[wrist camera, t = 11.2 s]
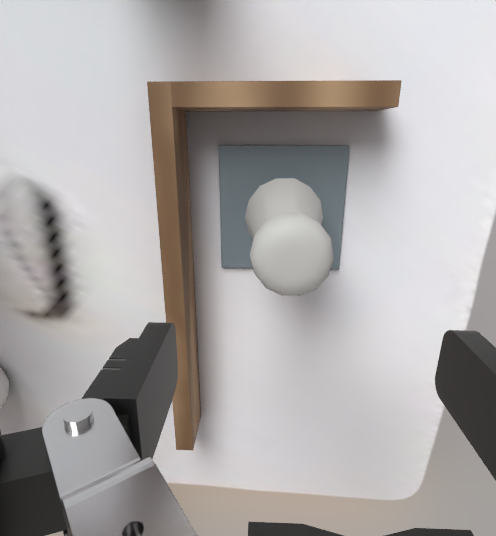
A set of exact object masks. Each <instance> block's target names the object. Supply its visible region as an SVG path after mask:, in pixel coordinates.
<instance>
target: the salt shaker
mask: <svg viewBox="0 0 496 536" xmlns="http://www.w3.org/2000/svg"><path fill="white" fill-rule="evenodd" d="M245 219H246V224H247V228H248V232H249V234H250V236H251V237H252V238H253V243H252V247H251V251H250V258H251V262H252V266H253V270H254V273H255V275H256V276H257V277H258V279H259V280H260V281H261V282H262V284H263V285H264V286H265V287H266V288H267V289H269V290H272V291H274V292H276V293H278V294H280V295H291V296H300V295H302V294H305V293H307V292H310V291H312V290H314V289H316V288H317V287H318V286H319V285H320V284H321V283H322V282H323V281H324V280H325V279H326V278H327V277H328V275H329V272H330V268H331V265H332V262H333V250H332V243H331V238H330V236H329V235H328V234H327V232H326V231H325V230H324V228H323V227H322V226H321V223H322V220H323V214H322V207H321V200H320V199H319V198H318V197H317V195H316V194H315V193H314V191H313V190H312V189H311V187H310V186H308V185H306V184H304V183H302V182H300V181H299V180H297V179H295V178H276V179H274V180H272V181H270V182H267V183H265V184H263V185H261V186H259V188H258V189H257V190H256V192H255V193H254V194H253V195H252V197H251V198H250V199H249V202H248V206H247V210H246V214H245Z"/></svg>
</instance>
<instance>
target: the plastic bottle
mask: <svg viewBox="0 0 496 536" xmlns="http://www.w3.org/2000/svg"><path fill="white" fill-rule="evenodd" d="M8 395H9V381H8V378H7V376H6V374H5V373H4V371H3V370H2V369H1V368H0V409H1V407H2V406H3V405H4V403H5V402H6V400H7V398H8Z"/></svg>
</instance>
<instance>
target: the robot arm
mask: <svg viewBox="0 0 496 536" xmlns="http://www.w3.org/2000/svg"><path fill="white" fill-rule="evenodd" d="M177 379H178V361H177V344H176V329H175V325H174V323H152V322H149V323H148V324H147V326H146V327H145V329H144V331H143V332H142V334H141V336H140V337H139V338H129V339H128V340H127V341H125V342H124V343H122V344H121V345H119V346H118V347H116V349H115V350H114V352H113V353H112V355H111V356H110V358H109V360H108V361H107V362H106V364H105V365H104V366H103V370H101V371H100V372H99V374H98V375H97V377H96V378H95V380H94V381H93V383H92V384H91V386H90V387H89V389H88V390H87V391H86V393H85V394H84V396H83V397H82V399H80V400H76V401H72V402H70V403H67V404H65V405H63V406H61V407H59V408H58V409H56V410H55V411H54V412H52V413H51V414H50V415H49V416H48V417H47V419H46V420H45V422H44V424H43V427H40V428H36V429H32V430H27V431H21V432H16V433H11V434H6V435H1V431H0V536H45V535H49V534H52V533H56V532H60V531H63V534H64V536H197V534H196V532H195V531H194V529H193V527H192V525H191V524H190V522H189V520H188V519H187V517H186V515H185V514H184V512H183V510H182V508H181V507H180V505H179V503H178V502H177V500H176V498H175V496H174V495H173V493H172V491H171V490H170V488H169V486H168V485H167V483H166V481H165V479H164V478H163V476H162V474H161V473H160V471H159V469H158V468H157V466H156V464H155V463H154V461H153V460H152V458H153V455H154V453H155V450H156V447H157V444H158V441H159V438H160V435H161V432H162V429H163V426H164V423H165V420H166V417H167V414H168V411H169V408H170V405H171V402H172V399H173V396H174V393H175V390H176V386H177ZM435 385H436V390H437V394H438V396H439V398H440V399H441V401H442V402H443V404H444V405H445V407H446V408H447V410H448V411H449V413H450V414H451V416H452V417H453V419H454V420H455V421H456V423H457V424H458V426H459V427H460V429H461V430H462V432H463V433H464V435H465V436H466V438H467V439H468V441H469V442H470V443H471V445H472V446H473V448H474V449H475V451H476V452H477V454H478V455H479V457H480V458H481V459H482V461H483V463H484V464H485V465H486V467H487V468H488V470H489V471H490V473H491V474H492V476H493V477H494V479H495V480H496V348H495V347H494V346H493V345H492V344H491V343H490V342H489V341H487V340H486V339H485V338H484V337H483V336H482V335H481V334H480V333H478V332H477V331H459V330H449V331H447V332H446V333H445V334H444V337H443V341H442V346H441V351H440V356H439V361H438V366H437V371H436V376H435ZM248 525H249V526H248V536H343V535H339V534H336V533H333V532H329V531H326V530H322V529H318V528H315V527H312V526H308V525H305V524H292V523H264V522H249V524H248ZM386 536H474V535H473V534H472V532H471V530H451V529H425V528H424V529H423V528H414V529H410V530H406V531H402V532H398V533H394V534H390V535H386Z"/></svg>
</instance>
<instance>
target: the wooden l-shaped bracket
mask: <svg viewBox="0 0 496 536" xmlns="http://www.w3.org/2000/svg"><path fill="white" fill-rule="evenodd" d="M147 85H148V97H149V110H150V122H151V135H152V148H153V160H154V173H155V185H156V198H157V211H158V223H159V236H160V248H161V261H162V274H163V286H164V299H165V311H166V323H174V325H175V329H176V344H177V361H178V379H177V386H176V390H175V393H174V396H173V399H172V400H173V412H174V425H175V438H176V450H193V448H194V443H195V439H196V435H197V430H198V426H199V422H200V417H201V406H200V386H199V366H198V346H197V326H196V307H195V287H194V267H193V247H192V227H191V207H190V187H189V167H188V147H187V127H186V111H379V110H384V109H389V108H394V107H398V104H399V96H400V88H401V81H204V82H147Z"/></svg>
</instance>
